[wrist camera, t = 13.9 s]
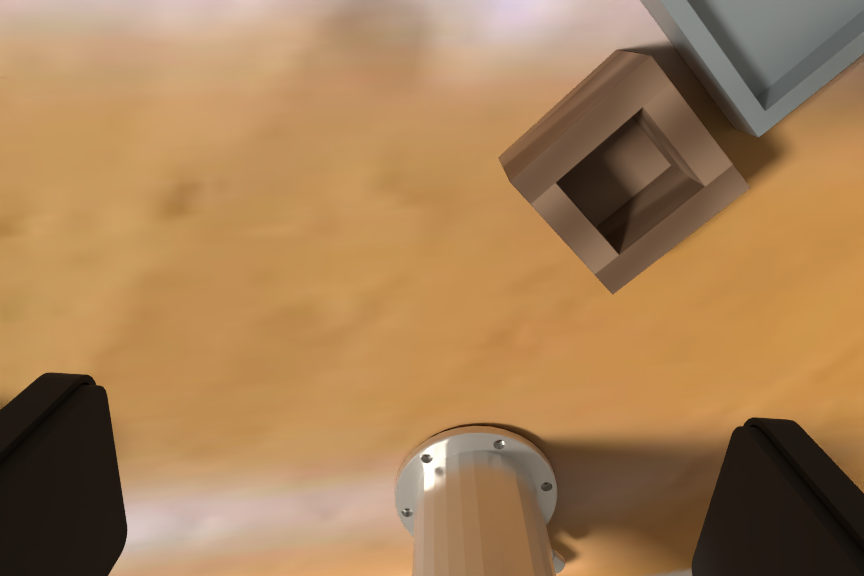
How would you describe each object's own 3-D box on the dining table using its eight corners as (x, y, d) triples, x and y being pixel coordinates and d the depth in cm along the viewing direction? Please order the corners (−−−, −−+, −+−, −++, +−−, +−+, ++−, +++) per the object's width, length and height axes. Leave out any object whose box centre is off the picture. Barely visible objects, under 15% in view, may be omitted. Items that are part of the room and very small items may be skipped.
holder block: (703, 162, 38) (750, 187, 32) (587, 256, 40) (612, 294, 35) (616, 49, 35) (651, 55, 29) (498, 157, 37) (509, 181, 32)
